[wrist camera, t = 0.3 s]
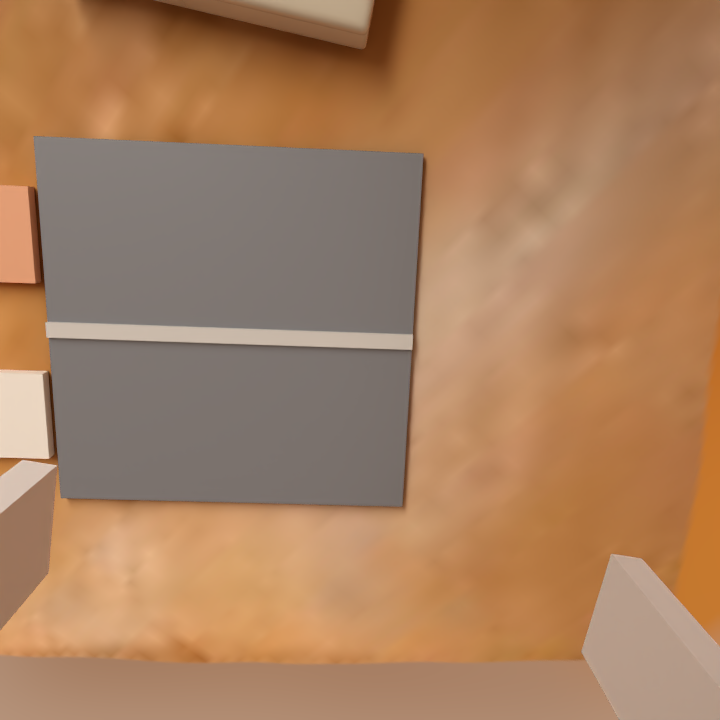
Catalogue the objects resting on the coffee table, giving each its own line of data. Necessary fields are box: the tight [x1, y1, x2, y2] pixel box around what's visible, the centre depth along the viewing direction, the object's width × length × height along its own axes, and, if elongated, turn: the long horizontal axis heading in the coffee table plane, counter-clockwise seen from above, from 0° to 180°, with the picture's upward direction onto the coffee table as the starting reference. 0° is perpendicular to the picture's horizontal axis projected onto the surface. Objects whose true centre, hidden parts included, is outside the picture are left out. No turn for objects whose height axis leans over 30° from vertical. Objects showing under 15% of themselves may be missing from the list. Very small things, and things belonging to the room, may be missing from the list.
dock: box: [0, 136, 423, 507], centre depth 40 cm, size 24×30×1 cm
